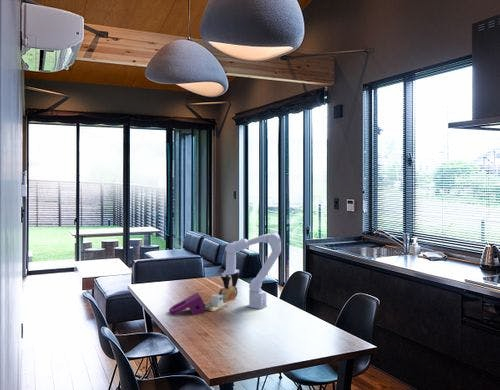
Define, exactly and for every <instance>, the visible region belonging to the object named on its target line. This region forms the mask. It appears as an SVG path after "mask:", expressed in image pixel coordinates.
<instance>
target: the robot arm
mask: <svg viewBox="0 0 500 390" xmlns="http://www.w3.org/2000/svg"><path fill="white" fill-rule="evenodd" d="M259 243H265V244H267V243H268V245H269V246H270V249H271V252H270V255H269V256H268V257H267V259H266V261H265V262H264V264H263V265H262V267H261V268H260V270H259V272H258V273H257V275H256V277H254V278H253V279H252V280H251V282H250V283H249V284H248V288H249V289H248V290H249V291H248V292H249V293H248V294H249V297H248V298H249V300H248V304H247V305H246V307H248V308H252V309H257V310H261V309H263V308H266V307H267V306H268V305H267V293H266V292H264V291H263V290H262V289H263V288H261V287H262V286H263V281H264V279H266V277H267V274H268V273H270V270H271V269H272V267H273V266H274V264H275V262H276V261H277V259H278V258H279V256H280V255H281V252H282V239H281V236H280V234H279V233H277V232H272V233H265V234H262V235H259V236H256V237H252V238H250V239H247V238H240V240H237V241H232V242H230V243H228V244H227V245H226V246H225V251H226V254H225V255H226V256H225V270H224V271H223V272H222V273H221V275H220V278H221V280H222V283H223V286H224V287H225V288H226V289H228V288H229V286H230V280H231V286H235V287H237V283H238V280H239V278H240V276H241V274H240V269H237V252H240V251H244V250H247V249H248V248H249V247H250V246H252V245H256V244H259ZM230 276H231V277H230ZM224 287H223V288H224Z"/></svg>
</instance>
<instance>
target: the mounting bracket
mask: <svg viewBox="0 0 500 390" xmlns="http://www.w3.org/2000/svg"><path fill="white" fill-rule="evenodd" d="M187 309H189V310H190V311H191V313H192V314H193V315H201V314H202V313H203V312H204V311H205V310H204V309H205V305H204V301H203V299H202V297H201V296H200V294H199V293H198V292H196V293H194V294H192V295H190V296H188V297H186V298H185V299H183V300H181V301H179V302H178V303H175V304H174V305H173V306H171V307H170V308H169V309H168V312H169V313H170V315H177V314H179V313H180V312H182V311H185V310H187Z"/></svg>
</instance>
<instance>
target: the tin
mask: <svg viewBox="0 0 500 390" xmlns="http://www.w3.org/2000/svg"><path fill="white" fill-rule="evenodd" d="M218 295H223V302H224V303H228V302H230V301H233V300H235V299H236V298H237V295H238V288H237V286H232V285H229V288H228V289H226V288H225V287H222V288H220V289H219V292H218Z"/></svg>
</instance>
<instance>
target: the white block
mask: <svg viewBox="0 0 500 390" xmlns="http://www.w3.org/2000/svg"><path fill="white" fill-rule="evenodd" d="M210 301H211V305H212V306H217V307H219V306H222V305H223V295H219V293H218V294H217V293H215V294H212V295H211V296H210Z"/></svg>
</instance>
